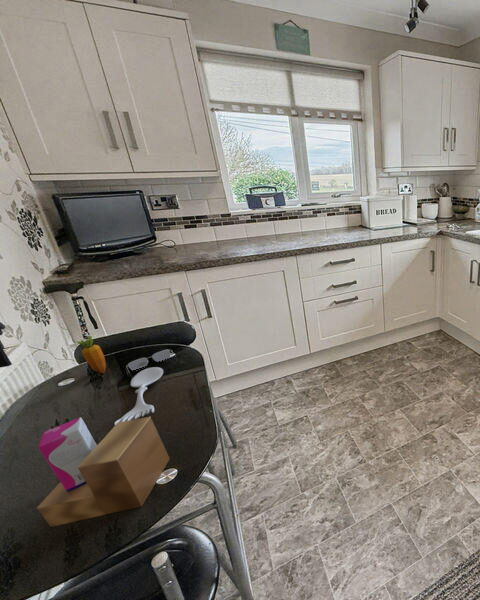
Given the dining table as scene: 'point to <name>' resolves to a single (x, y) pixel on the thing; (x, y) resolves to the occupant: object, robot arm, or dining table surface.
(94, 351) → the carrot
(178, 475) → the dining table surface
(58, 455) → the supplement box
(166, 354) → the eyeglasses
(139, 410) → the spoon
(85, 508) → the wooden stepped block
